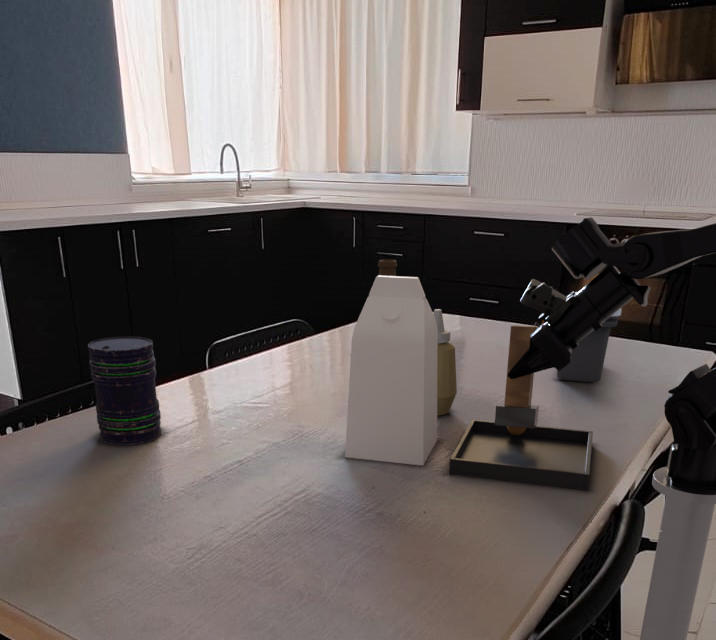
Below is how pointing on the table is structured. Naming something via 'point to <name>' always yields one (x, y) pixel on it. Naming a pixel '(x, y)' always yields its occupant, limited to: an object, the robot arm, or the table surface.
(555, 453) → the pan
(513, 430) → the tan round ball
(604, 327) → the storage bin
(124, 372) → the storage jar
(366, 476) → the table surface
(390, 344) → the milk
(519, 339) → the wooden block on stand
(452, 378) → the squeeze bottle
